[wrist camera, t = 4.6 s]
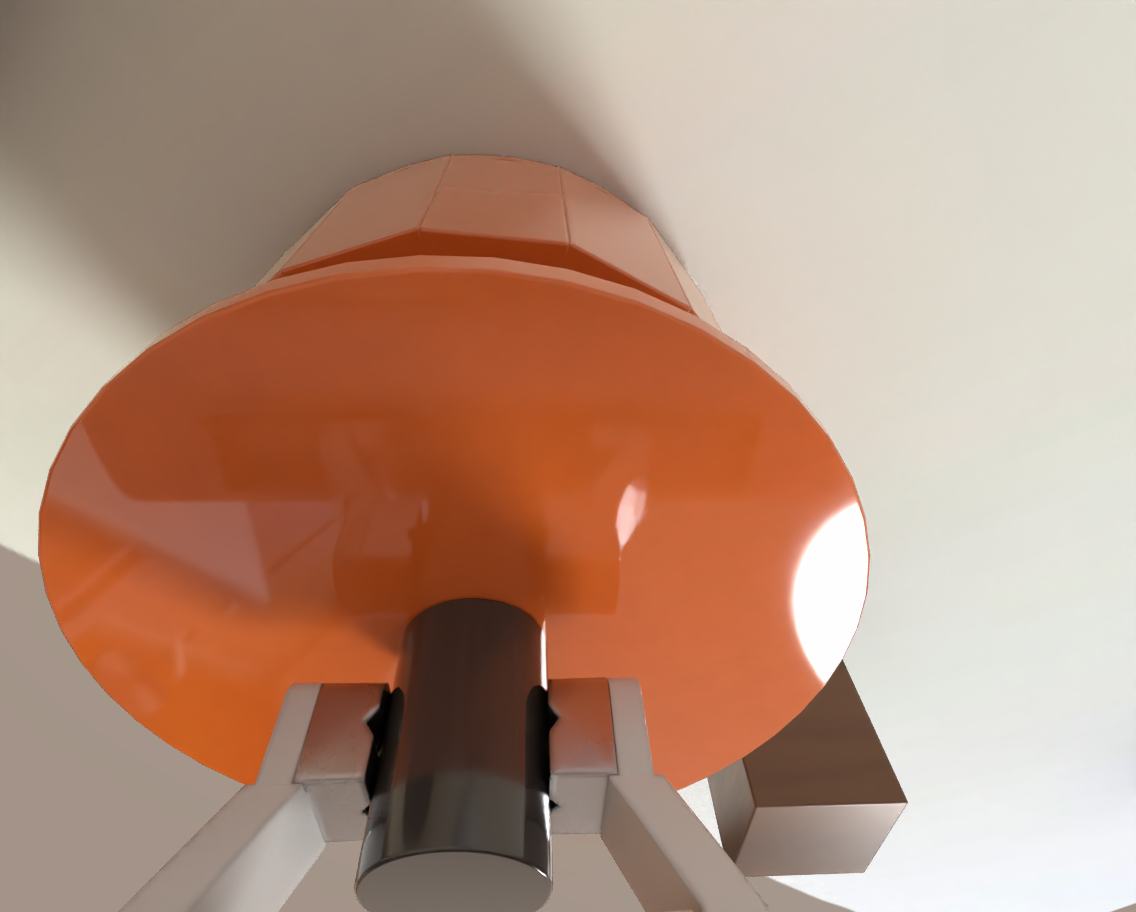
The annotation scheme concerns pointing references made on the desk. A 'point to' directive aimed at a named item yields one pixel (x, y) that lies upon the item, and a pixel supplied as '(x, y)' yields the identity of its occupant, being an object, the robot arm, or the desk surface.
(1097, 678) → the desk surface
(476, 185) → the pan
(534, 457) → the pan lid
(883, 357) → the desk surface
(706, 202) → the desk surface
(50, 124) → the desk surface
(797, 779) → the block
